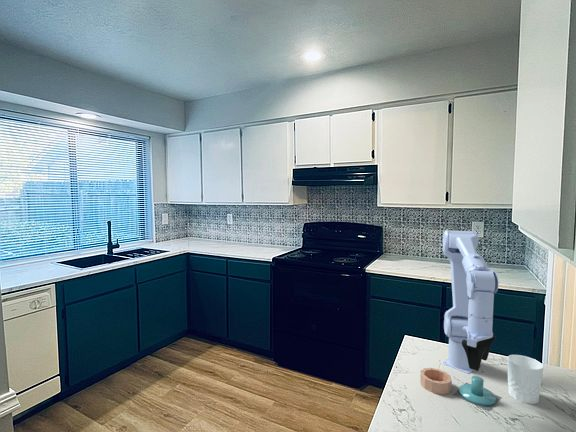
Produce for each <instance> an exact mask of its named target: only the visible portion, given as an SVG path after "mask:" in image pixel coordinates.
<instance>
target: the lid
mask: <svg viewBox="0 0 576 432" xmlns="http://www.w3.org/2000/svg"><path fill="white" fill-rule="evenodd" d="M484 384H485V383H484V378H482V377H481V376H479V375H478V376H477V375H472V376H471V383H469V384H465V383H464V384H461V385H460V386H459V388H458V389H459V393H460V395H461V396H462V397H463V398H464V399H466V400H467V401H469V402H468V403H470V402H471V403H470V404H472V403H474V404H477V405H481V406H491V405H494V404H495V402H496V397H495V395H496V394H495V393H494V392H492V391H491V390H489V389H487V388H485V387H484ZM494 394H495V395H494ZM467 401H466V402H467ZM474 404H473V405H474ZM495 405H496V404H495ZM495 405H494V406H495Z"/></svg>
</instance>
